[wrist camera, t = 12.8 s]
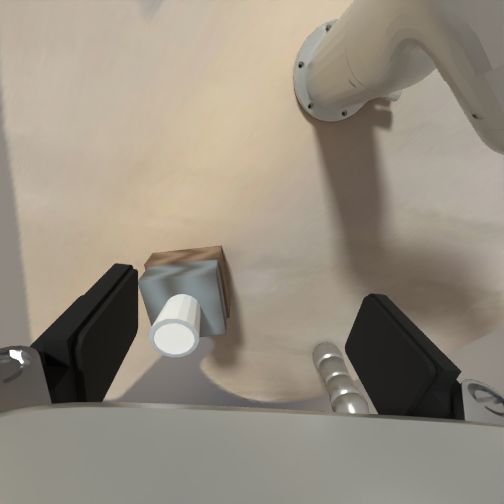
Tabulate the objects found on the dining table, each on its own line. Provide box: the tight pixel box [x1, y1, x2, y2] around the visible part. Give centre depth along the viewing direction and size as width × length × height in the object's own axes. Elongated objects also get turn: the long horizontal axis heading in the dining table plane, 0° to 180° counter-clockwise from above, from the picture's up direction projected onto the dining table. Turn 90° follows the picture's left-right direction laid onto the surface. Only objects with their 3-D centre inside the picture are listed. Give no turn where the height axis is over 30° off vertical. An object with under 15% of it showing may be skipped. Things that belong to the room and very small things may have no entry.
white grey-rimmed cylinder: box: [148, 294, 201, 357], centre depth 38 cm, size 7×7×7 cm
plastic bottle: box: [313, 343, 369, 414], centre depth 51 cm, size 6×7×20 cm
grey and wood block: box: [138, 246, 230, 337], centre depth 46 cm, size 13×13×10 cm
